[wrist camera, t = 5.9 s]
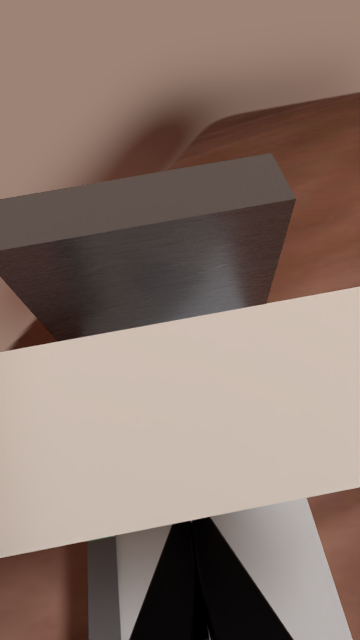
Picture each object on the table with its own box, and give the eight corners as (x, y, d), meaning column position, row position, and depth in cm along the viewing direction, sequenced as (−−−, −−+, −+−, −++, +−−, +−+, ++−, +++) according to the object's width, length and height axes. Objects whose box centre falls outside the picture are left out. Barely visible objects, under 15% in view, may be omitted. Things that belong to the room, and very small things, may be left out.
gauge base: (365, 720, 10) (390, 753, 9) (107, 775, 10) (91, 819, 8) (241, 321, 17) (244, 305, 16) (93, 348, 17) (83, 334, 16)
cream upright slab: (280, 498, 11) (501, 458, 3) (75, 538, 11) (-346, 625, 3) (248, 385, 14) (317, 170, 5) (75, 417, 13) (-159, 252, 5)
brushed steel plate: (255, 341, 15) (296, 198, 8) (85, 372, 15) (-20, 254, 8) (243, 306, 16) (271, 153, 9) (84, 335, 16) (-9, 200, 9)
